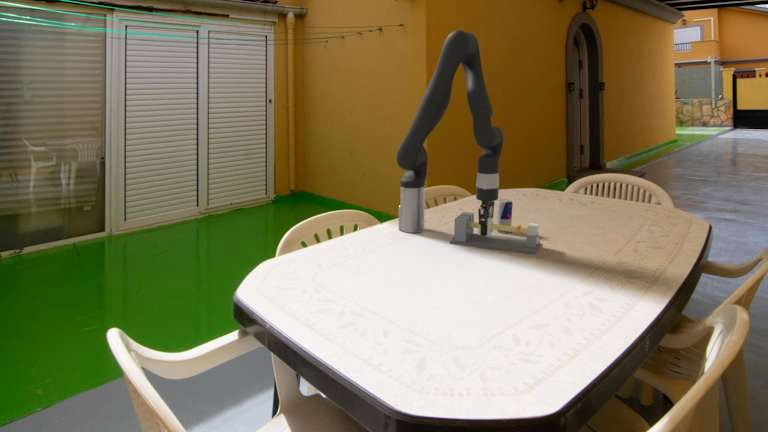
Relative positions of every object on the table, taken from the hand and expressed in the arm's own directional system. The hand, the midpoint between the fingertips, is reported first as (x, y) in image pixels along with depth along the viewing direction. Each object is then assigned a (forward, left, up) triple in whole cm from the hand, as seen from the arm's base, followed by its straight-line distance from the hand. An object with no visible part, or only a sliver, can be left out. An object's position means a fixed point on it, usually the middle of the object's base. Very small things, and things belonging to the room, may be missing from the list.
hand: (485, 233), depth 161 cm
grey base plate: (+3, 0, -3) cm, 5 cm away
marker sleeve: (0, 0, 0) cm, 0 cm away
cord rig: (+4, 0, -2) cm, 4 cm away
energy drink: (+3, +16, -4) cm, 17 cm away
